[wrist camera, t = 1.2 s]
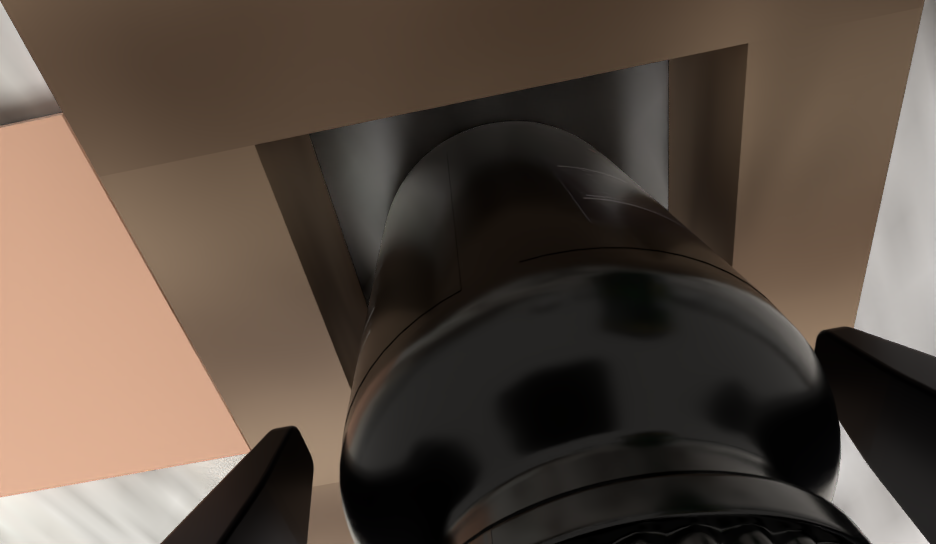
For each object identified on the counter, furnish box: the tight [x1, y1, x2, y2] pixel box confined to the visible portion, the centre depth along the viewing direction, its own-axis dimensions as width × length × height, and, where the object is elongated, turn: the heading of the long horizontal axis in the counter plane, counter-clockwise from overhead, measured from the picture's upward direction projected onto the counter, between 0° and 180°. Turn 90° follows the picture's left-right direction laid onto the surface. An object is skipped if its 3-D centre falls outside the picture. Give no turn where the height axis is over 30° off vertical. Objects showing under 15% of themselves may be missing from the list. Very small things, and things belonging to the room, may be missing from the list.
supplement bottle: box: [339, 121, 872, 544], centre depth 9 cm, size 7×7×12 cm
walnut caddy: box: [0, 0, 925, 544], centre depth 13 cm, size 15×15×4 cm
